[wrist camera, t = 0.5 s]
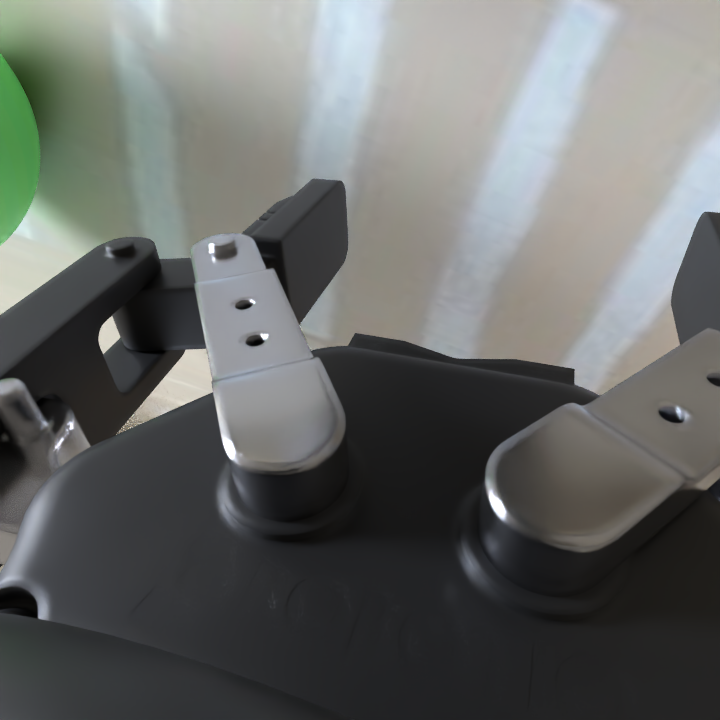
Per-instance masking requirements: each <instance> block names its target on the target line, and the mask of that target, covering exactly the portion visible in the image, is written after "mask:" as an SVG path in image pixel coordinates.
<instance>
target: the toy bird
mask: <svg viewBox="0 0 720 720" xmlns="http://www.w3.org/2000/svg"><path fill="white" fill-rule="evenodd" d="M39 171H40V142H39V135H38V129H37V125H36V121H35V117H34V114H33V111H32V108H31V105H30V103H29V100H28V98H27V96H26V94H25V92H24V90H23V88H22V86H21V84H20V82H19V81H18V79H17V77H16V75H15V74H14V72H13V71H12V69H11V68H10V66H9V65H8V63H7V62H6V60H5V59H4V58H3V56H2V55H1V54H0V246H1V245H2V244H3V243H4V242H5V241H6V240H7V239H8V238H9V237H10V236H11V235H12V233H13V232H14V231H15V230H16V228H17V227H18V226H19V224H20V223H21V221H22V220H23V218H24V216H25V215H26V213H27V211H28V209H29V207H30V205H31V202H32V200H33V197H34V194H35V191H36V187H37V183H38V178H39Z"/></svg>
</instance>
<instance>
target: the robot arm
mask: <svg viewBox="0 0 720 720" xmlns="http://www.w3.org/2000/svg"><path fill="white" fill-rule="evenodd" d="M347 251H348V226H347V208H346V191H345V186H344V184H343V182H342V181H338V180H326V179H312V180H310V181H309V182H308V183H307V184H306V185H305V186H304V187H303V188H302V189H301V190H299V191H298V192H297V193H296V194H295V195H294V196H291V197H288V198H286V199H284V200H281V201H279V202H277V203H276V204H274V205H273V206H272V207H271V208H270V209H269V210H268V211H267V213H264V214H263V215H262V216H261V217H260V218H259V220H256V221H255V222H254V223H253V224H252V225H251V226H249V227H248V228H247V229H246V230H245V231H244V232H243V233H241V234H238V233H224V234H218V235H213V236H209V237H207V238H204V239H202V240H200V241H198V242H197V243H195V244H194V245H193V246H192V247H191V249H190V255H191V258H177V259H159V256H158V253H157V249H156V246H155V243H154V242H153V241H152V240H150V239H147V238H143V237H126V238H118V239H114V240H112V241H108V242H106V243H103V244H101V245H99V246H97V247H96V248H94V249H93V250H91V251H90V252H89V253H87V254H86V255H84V256H83V257H82V258H80V259H79V260H77V261H76V262H75V263H73V264H72V265H70V266H69V267H68V268H66V269H65V270H63V271H62V272H60V273H59V274H58V275H56V276H55V277H53V278H52V279H51V280H49V281H48V282H46V283H45V284H44V285H42V286H41V287H39V288H38V289H37V290H35V291H34V292H32V293H31V294H29V295H28V296H27V297H25V298H24V299H22V300H21V301H20V302H18V303H17V304H15V305H14V306H13V307H11V308H10V309H8V310H7V311H6V312H4V313H3V314H1V315H0V567H1V566H2V565H4V567H3V569H2V570H1V572H0V720H720V213H715V212H704V213H703V214H702V215H701V217H700V218H699V220H698V222H697V224H696V227H695V229H694V232H693V235H692V237H691V240H690V243H689V245H688V248H687V251H686V253H685V256H684V258H683V261H682V264H681V266H680V269H679V272H678V274H677V277H676V280H675V283H674V287H673V291H672V298H671V306H672V311H673V315H674V320H675V324H676V329H677V333H678V337H679V342H680V345H679V346H678V347H676V348H675V349H673V350H672V351H670V352H668V353H667V354H665V355H664V356H662V357H661V358H659V359H657V360H656V361H654V362H653V363H651V364H650V365H648V366H646V367H645V368H643V369H642V370H640V371H639V372H637V373H635V374H634V375H632V376H631V377H629V378H628V379H626V380H625V381H623V382H621V383H620V384H618V385H617V386H615V387H614V388H612V389H610V390H609V391H607V392H606V393H604V394H603V395H601V396H599V395H598V394H596V393H594V392H591V391H589V390H587V389H584V388H582V387H579V386H577V385H574V371H575V369H572V368H565V367H559V366H553V365H547V364H541V363H535V362H529V361H523V360H517V359H457V358H452V357H449V356H446V355H443V354H440V353H438V352H435V351H432V350H429V349H426V348H423V347H420V346H417V345H414V344H412V343H409V342H406V341H401V340H395V339H388V338H382V337H376V336H370V335H364V334H358V333H355V334H354V336H353V338H352V340H351V341H350V343H349V345H348V346H336V347H327V348H321V349H316V350H312V351H311V350H310V348H309V346H308V343H307V341H306V339H305V337H304V335H303V332H302V330H301V328H300V326H299V324H300V323H301V321H302V320H303V319H304V317H305V316H306V315H307V313H308V312H309V310H310V309H311V308H312V306H313V305H314V304H315V302H316V301H317V299H318V298H319V297H320V295H321V294H322V293H323V291H324V290H325V288H326V287H327V286H328V284H329V283H330V282H331V280H332V279H333V277H334V276H335V275H336V273H337V272H338V271H339V269H340V268H341V266H342V265H343V264H344V262H345V259H346V256H347ZM111 316H113V319H114V321H115V324H116V326H117V329H118V332H119V334H120V337H121V338H120V339H119V340H118V341H117V342H116V343H115V344H114V345H113V346H112V347H111V348H110V349H108V350H107V351H106V352H105V353H104V354H102V351H101V349H100V346H99V342H98V336H99V331H100V328H101V326H102V325H103V323H104V322H105V321H106V320H107V319H109V318H110V317H111ZM185 349H207V354H208V359H209V365H210V370H211V375H212V388H213V392H212V393H210V394H208V395H206V396H203V397H201V398H199V399H197V400H194V401H192V402H190V403H187V404H185V405H183V406H181V407H178V408H176V409H174V410H172V411H169V412H167V413H165V414H163V415H160V416H158V417H156V418H153V419H151V420H149V421H147V422H144V423H142V424H140V425H138V426H135V427H133V428H131V429H129V430H126V431H124V432H122V433H119V434H117V432H118V431H119V430H120V429H121V428H122V426H123V425H124V424H125V423H126V422H127V421H128V419H129V418H130V417H131V416H132V415H133V413H134V412H135V411H136V410H137V409H138V408H139V406H140V405H141V404H142V403H143V402H144V400H145V399H146V398H147V397H148V396H149V395H150V393H151V392H152V391H153V390H154V389H155V387H156V386H157V385H158V384H159V383H160V382H161V380H162V379H163V378H164V377H165V376H166V374H167V373H168V372H169V371H170V370H171V369H172V367H173V366H174V365H175V364H176V363H177V361H178V360H179V359H180V358H181V357H182V355H183V354H184V352H185ZM116 434H117V435H116Z"/></svg>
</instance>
